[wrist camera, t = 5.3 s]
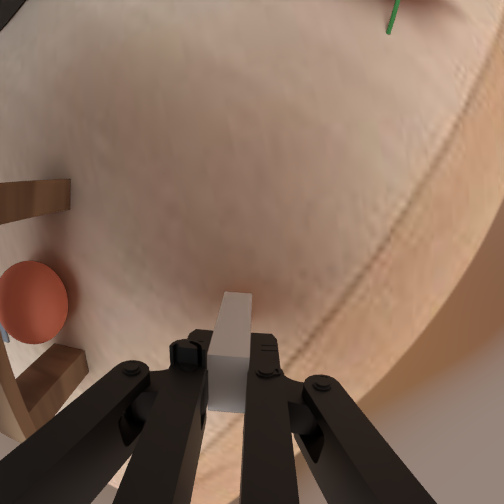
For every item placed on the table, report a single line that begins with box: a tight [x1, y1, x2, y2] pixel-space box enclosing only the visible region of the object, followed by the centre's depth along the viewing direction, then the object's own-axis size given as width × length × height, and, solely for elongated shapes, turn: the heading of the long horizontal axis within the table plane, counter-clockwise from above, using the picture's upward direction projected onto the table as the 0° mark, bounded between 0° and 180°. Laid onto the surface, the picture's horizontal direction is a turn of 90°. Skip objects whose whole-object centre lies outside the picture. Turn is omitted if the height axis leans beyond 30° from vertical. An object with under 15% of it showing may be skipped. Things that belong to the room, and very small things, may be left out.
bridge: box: [0, 179, 89, 443], centre depth 14 cm, size 3×14×9 cm, turn 176°
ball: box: [0, 261, 68, 344], centre depth 16 cm, size 6×6×6 cm
